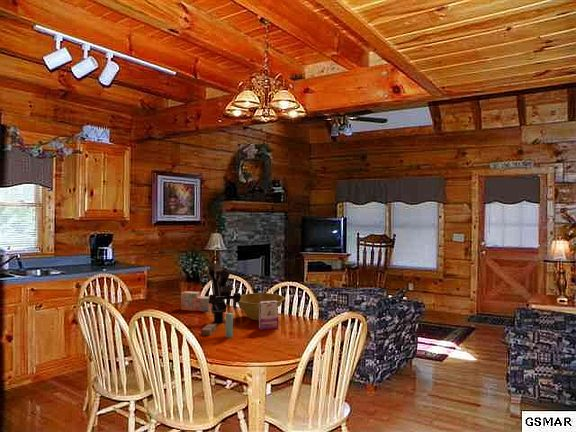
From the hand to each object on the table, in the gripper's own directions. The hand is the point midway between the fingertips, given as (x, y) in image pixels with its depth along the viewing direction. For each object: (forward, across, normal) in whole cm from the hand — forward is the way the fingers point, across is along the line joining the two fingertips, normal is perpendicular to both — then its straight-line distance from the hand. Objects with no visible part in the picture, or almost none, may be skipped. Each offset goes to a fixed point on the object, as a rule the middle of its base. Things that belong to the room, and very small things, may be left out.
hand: (226, 310), depth 266 cm
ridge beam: (+6, -9, +13) cm, 17 cm away
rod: (+15, 0, +4) cm, 15 cm away
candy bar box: (+8, +26, +11) cm, 29 cm away
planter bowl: (-10, +28, +29) cm, 42 cm away
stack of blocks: (-36, -8, +55) cm, 66 cm away
